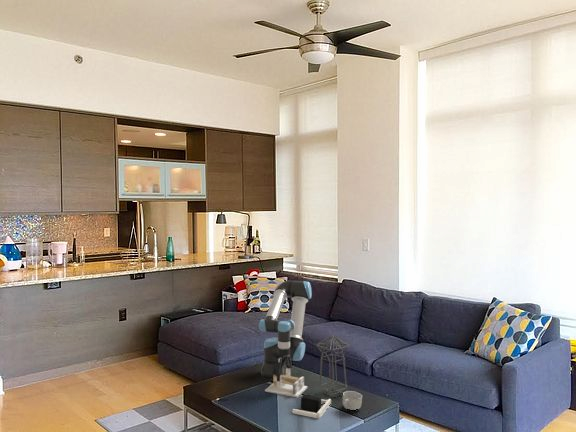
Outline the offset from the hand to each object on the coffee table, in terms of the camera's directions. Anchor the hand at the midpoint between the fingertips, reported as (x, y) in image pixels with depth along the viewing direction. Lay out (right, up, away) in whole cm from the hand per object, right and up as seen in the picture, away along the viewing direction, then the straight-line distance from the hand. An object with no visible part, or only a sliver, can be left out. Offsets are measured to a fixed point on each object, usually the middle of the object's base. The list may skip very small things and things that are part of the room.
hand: (283, 382), depth 293 cm
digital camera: (+16, -6, -28) cm, 32 cm away
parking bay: (+16, -5, -26) cm, 31 cm away
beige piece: (+2, -3, -1) cm, 4 cm away
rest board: (+2, -4, -1) cm, 5 cm away
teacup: (+37, -6, -27) cm, 46 cm away
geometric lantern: (+29, -5, -6) cm, 30 cm away
